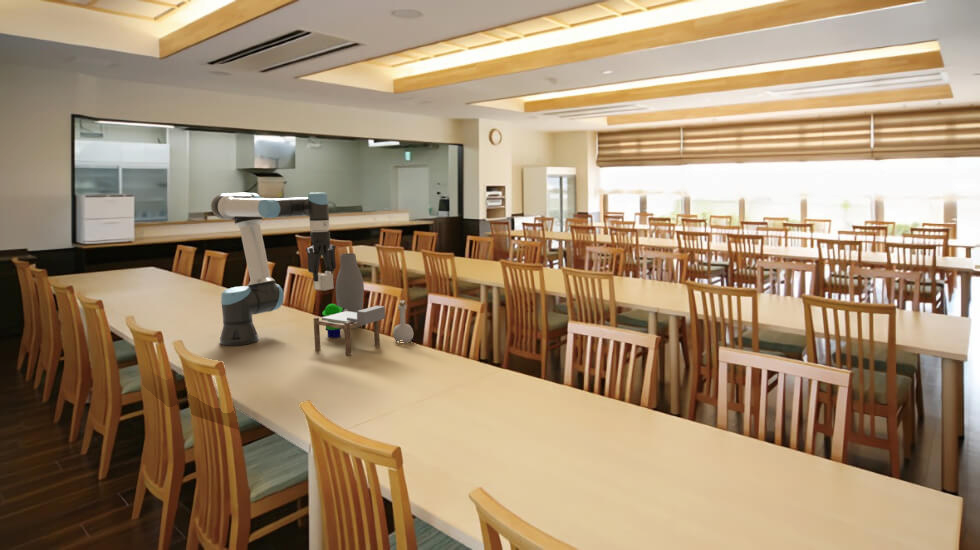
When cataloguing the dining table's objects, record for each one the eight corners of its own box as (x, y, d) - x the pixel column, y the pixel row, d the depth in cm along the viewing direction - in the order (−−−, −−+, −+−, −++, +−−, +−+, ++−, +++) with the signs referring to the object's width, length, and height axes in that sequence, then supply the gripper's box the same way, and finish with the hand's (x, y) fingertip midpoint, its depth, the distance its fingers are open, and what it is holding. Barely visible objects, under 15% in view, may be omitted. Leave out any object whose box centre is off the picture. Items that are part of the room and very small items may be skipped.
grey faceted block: (321, 319, 237) (321, 306, 236) (346, 313, 248) (345, 300, 248) (363, 326, 225) (362, 312, 225) (386, 319, 237) (386, 306, 236)
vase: (354, 321, 286) (350, 251, 280) (372, 325, 279) (368, 253, 273) (332, 327, 276) (328, 254, 269) (351, 331, 268) (346, 257, 262)
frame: (315, 350, 238) (313, 318, 236) (347, 339, 253) (345, 309, 251) (348, 356, 228) (347, 323, 226) (379, 345, 244) (378, 314, 242)
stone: (314, 289, 235) (312, 274, 235) (323, 287, 240) (322, 273, 239) (324, 290, 232) (323, 275, 231) (333, 288, 236) (332, 274, 236)
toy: (347, 335, 261) (346, 302, 259) (336, 339, 253) (335, 306, 251) (330, 333, 264) (329, 301, 262) (319, 338, 256) (317, 305, 253)
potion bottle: (415, 338, 254) (414, 298, 251) (410, 344, 246) (409, 302, 243) (395, 338, 255) (394, 298, 252) (390, 343, 246) (389, 302, 244)
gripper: (308, 232, 223) (312, 292, 226) (343, 229, 238) (346, 285, 242) (295, 232, 227) (299, 290, 230) (330, 229, 242) (333, 284, 245)
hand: (323, 287), depth 236 cm, fingers closed on stone, 5 cm apart
